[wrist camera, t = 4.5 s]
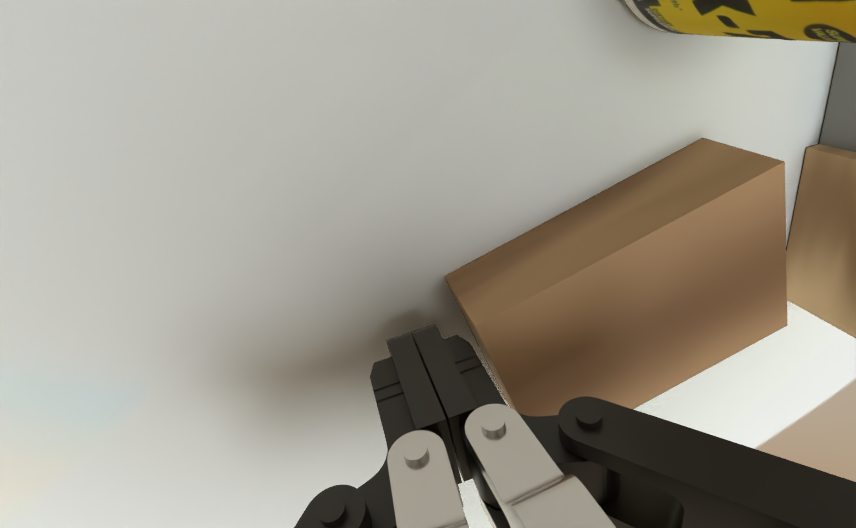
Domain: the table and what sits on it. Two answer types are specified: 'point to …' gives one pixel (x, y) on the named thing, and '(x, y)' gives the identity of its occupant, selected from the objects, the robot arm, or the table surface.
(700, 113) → the table surface
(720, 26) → the supplement bottle
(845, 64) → the tray
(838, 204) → the tan rectangular block
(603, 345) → the flat cardboard carton
